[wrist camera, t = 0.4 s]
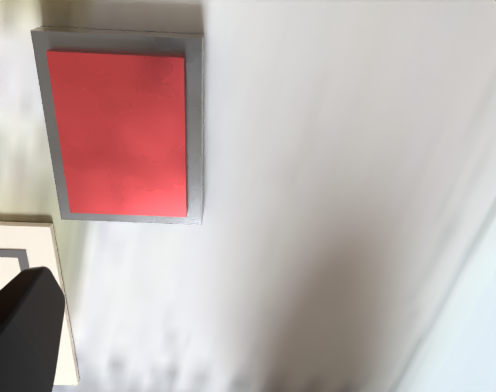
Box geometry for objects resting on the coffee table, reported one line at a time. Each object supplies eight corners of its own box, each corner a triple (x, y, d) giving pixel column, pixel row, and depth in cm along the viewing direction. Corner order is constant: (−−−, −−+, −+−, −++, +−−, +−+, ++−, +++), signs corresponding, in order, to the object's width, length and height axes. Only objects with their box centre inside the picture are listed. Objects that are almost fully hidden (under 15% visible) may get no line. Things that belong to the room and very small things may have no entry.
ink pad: (203, 212, 24) (200, 229, 23) (69, 207, 24) (57, 224, 23) (204, 34, 20) (201, 41, 19) (41, 26, 20) (25, 32, 18)
